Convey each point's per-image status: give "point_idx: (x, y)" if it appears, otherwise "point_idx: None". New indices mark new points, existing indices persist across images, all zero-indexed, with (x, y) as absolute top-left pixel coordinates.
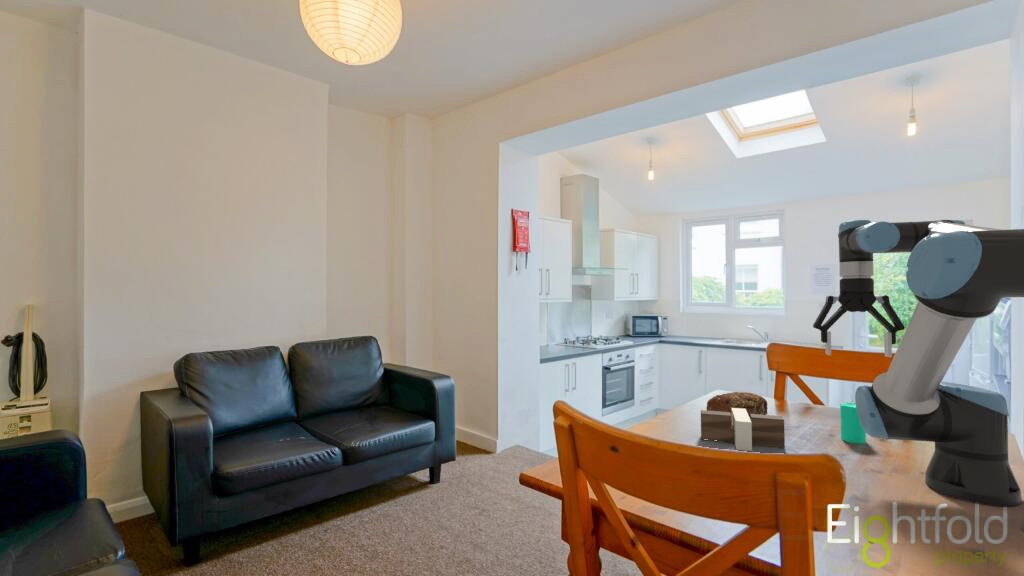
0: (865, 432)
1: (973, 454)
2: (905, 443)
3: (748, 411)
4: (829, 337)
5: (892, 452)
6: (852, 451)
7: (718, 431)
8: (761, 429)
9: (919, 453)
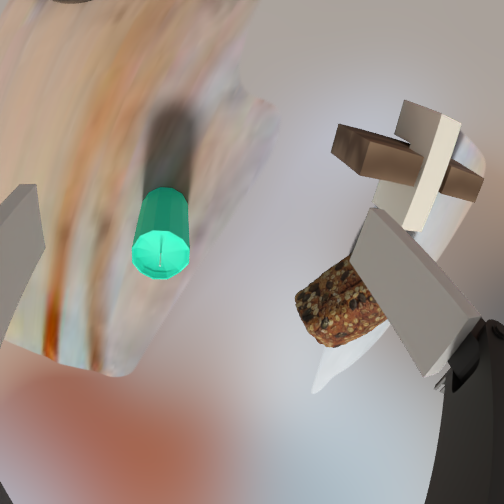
0: (141, 210)
1: None
2: (69, 214)
3: (352, 277)
4: (446, 283)
5: (114, 139)
6: (199, 123)
7: None
8: (394, 143)
9: (64, 150)
